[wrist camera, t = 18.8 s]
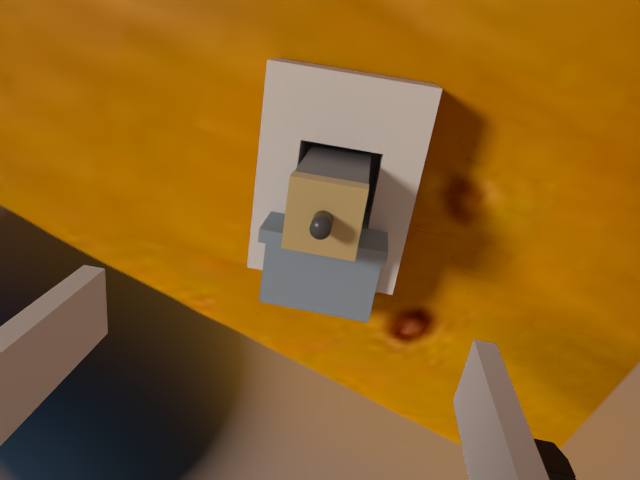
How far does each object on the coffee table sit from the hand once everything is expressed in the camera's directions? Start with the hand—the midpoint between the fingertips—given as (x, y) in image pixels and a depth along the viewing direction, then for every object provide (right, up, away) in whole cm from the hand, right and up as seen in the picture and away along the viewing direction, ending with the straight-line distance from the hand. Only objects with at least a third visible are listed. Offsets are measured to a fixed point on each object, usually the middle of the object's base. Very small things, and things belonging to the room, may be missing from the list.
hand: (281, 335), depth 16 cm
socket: (+3, +9, +23) cm, 25 cm away
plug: (+3, +9, +22) cm, 24 cm away
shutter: (+1, +1, +20) cm, 20 cm away
